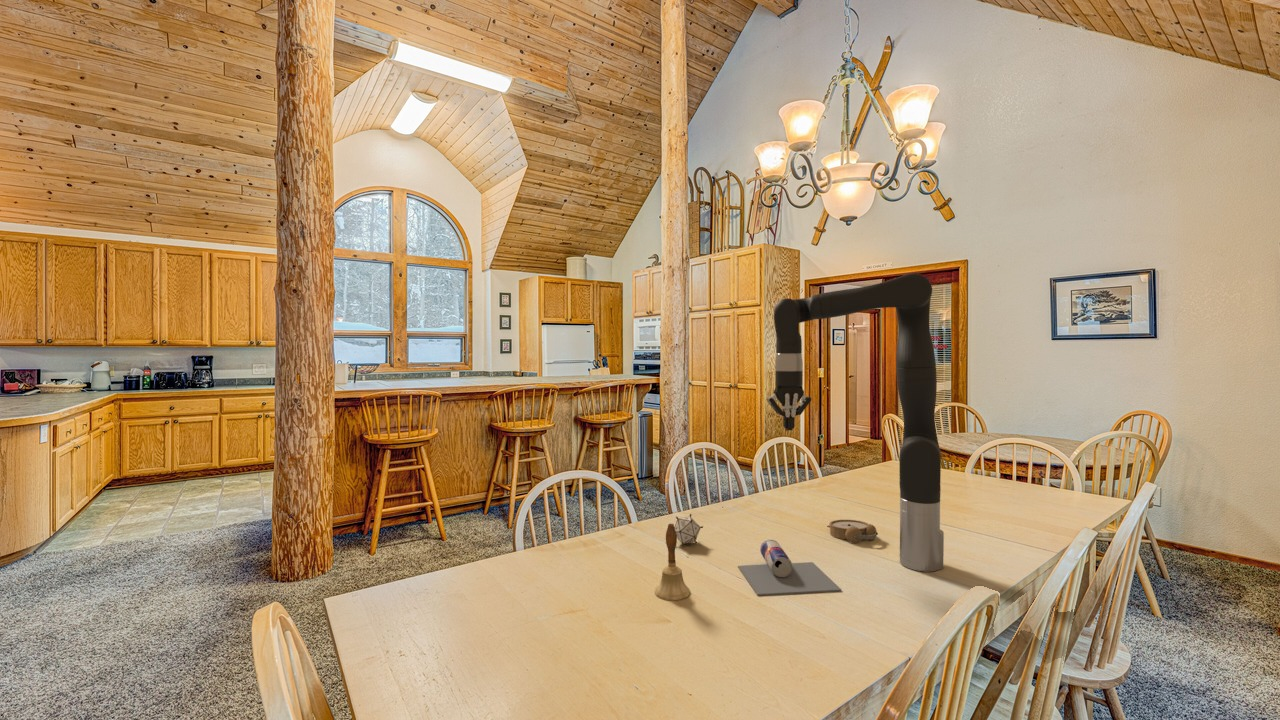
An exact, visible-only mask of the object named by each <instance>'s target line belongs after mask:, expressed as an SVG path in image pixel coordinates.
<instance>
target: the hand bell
mask: <svg viewBox="0 0 1280 720" xmlns="http://www.w3.org/2000/svg"><path fill="white" fill-rule="evenodd" d="M674 527H675V525H674V523H668V524H667V528H666V531H665V545H666V548H667V552H668V553H667V554H668V556H667V557H668V559H667V562H668V563H667V564H668V565H667V566H665V567H663V569H662V573H661V579H660V582H659V583H658V585H657V586H656V588H655V590H654V595H656V597H657V598H659V599H661V600H665V601H673V602H674V601H682V600H684V599H687V598H688V597H689V596H690V595H691V589H690V588H689V586H687V585H686V582H685V580H684V576H683V570H682V569H681V567H680V566H677V565H676V564H677V563H676V547H677V543H678V542H677V541H678V539H677V534H676V531H675V528H674Z"/></svg>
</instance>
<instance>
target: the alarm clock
mask: <svg viewBox="0 0 1280 720" xmlns="http://www.w3.org/2000/svg"><path fill="white" fill-rule="evenodd" d="M826 527H827V528H829V534H830V536H832V537H834V538H837V539H841V540H842V539H843V540H847V541H848V542H849V543H851V544H858V543H860V542H861V541H862V540H867V541H870V542H872V541H875V540H876V539H877V536H878V535H879V533H878V531H877V528H876V526H875V525H873V524H871V523H867V522H865V521H863V520H862V521H861V520H858V519H857V520H856V519H835V520H831V521H830V522H829V525H826Z"/></svg>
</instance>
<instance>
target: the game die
mask: <svg viewBox="0 0 1280 720" xmlns="http://www.w3.org/2000/svg"><path fill="white" fill-rule="evenodd" d="M675 519H676V522H675V525H674V528H675V531H676V534H677V541H679V542H680V543H681V547H684V544H685V545H686V544H689V543H695V544H696V543H697V544H698V542H697V538H698V536H699V533H700V532H701V531H700V530H701V529H703V528H704V526H703V525H701V526H700V525H699V524H698V523H697V522H696V521H695V519H694V518H693V517H692V513H689V516H685V517H678V516H675Z"/></svg>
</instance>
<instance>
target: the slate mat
mask: <svg viewBox="0 0 1280 720" xmlns="http://www.w3.org/2000/svg"><path fill="white" fill-rule="evenodd" d="M791 563H792V571H791V573H790V574H789V575H788V576H786V577H778V576H776V575H774V574H773V573H772V571H771V569H770V568H769V566H768V564H767V563H766V564H748V565H747V564H746V565H745V564H744V565H737V568H738V569H739V571H740V573H741V574H742V576H743V577H744V578H745V580H746V581H747V583H748V584H749V585H750V587H751V589H752V590H753V591H754V594H755V595H756V596H758V597H759V595H760V597H761V595H762V596H776V595H777V596H778V595H779V594H781V595H795V594H796V595H797V594H815V593H816V594H817V592H818V593H831V592H833V593H836V592H842V588H841V587H839V585H837V584H836V583H835V582H834V581H833V579H831V578H830V577H829V576H828V575H827V574H826V573H825V572H824V571H823V570H822V569H820V567H819V566H817V564H815V563H814V562H813V561H811V562H809V561H808V562H791Z"/></svg>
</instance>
